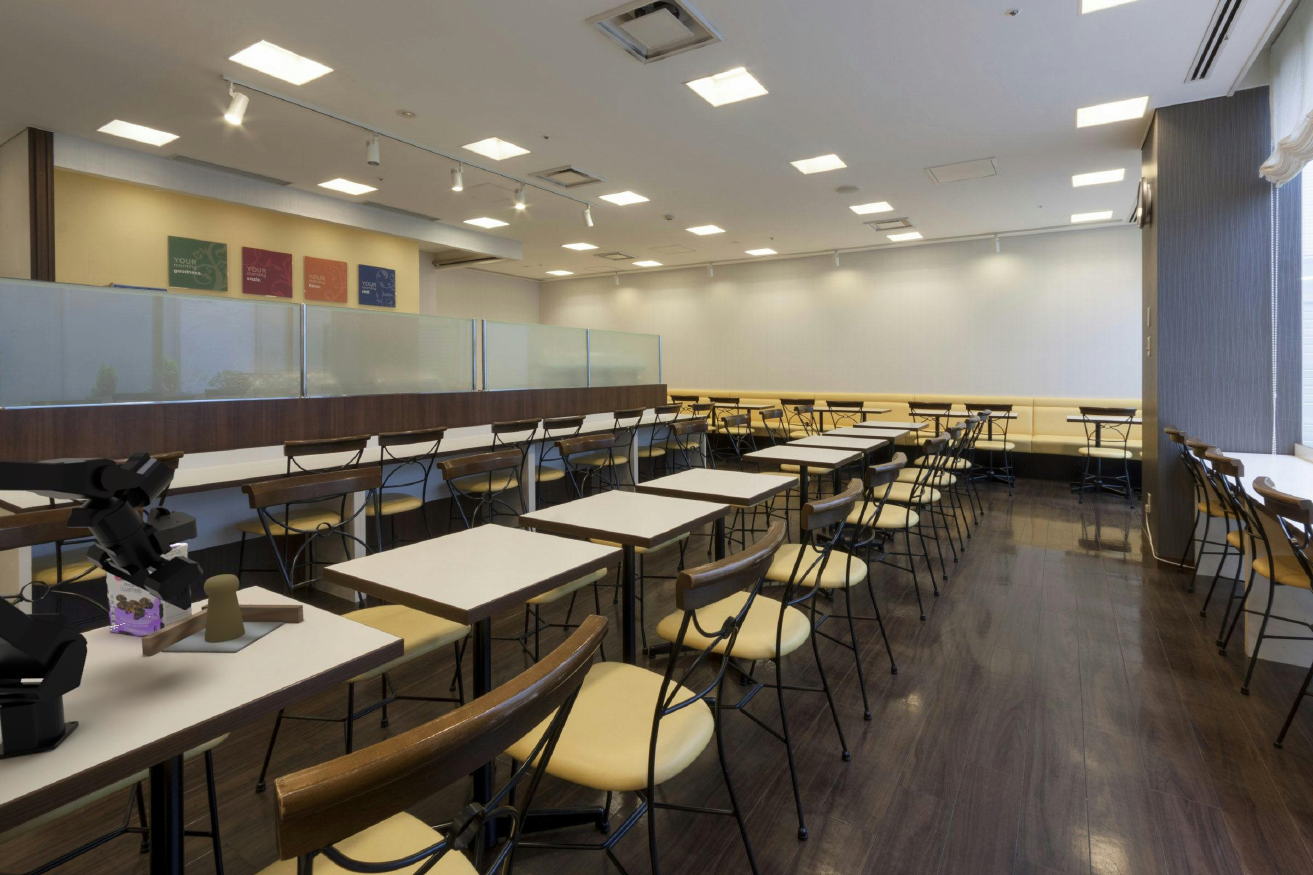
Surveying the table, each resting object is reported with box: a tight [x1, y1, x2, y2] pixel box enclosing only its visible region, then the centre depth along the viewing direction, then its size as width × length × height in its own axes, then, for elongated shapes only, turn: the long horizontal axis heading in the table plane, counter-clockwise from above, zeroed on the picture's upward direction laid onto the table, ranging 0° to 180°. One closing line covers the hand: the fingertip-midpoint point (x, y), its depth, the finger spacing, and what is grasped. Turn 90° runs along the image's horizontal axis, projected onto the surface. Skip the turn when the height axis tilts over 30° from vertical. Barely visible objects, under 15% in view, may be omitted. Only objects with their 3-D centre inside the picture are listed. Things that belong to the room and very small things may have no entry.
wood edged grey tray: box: [141, 603, 305, 657], centre depth 114 cm, size 16×19×3 cm
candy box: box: [104, 542, 193, 638], centre depth 117 cm, size 14×6×16 cm, turn 73°
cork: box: [203, 573, 245, 643], centre depth 113 cm, size 6×6×11 cm
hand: (169, 598), depth 103 cm, fingers open, 9 cm apart
